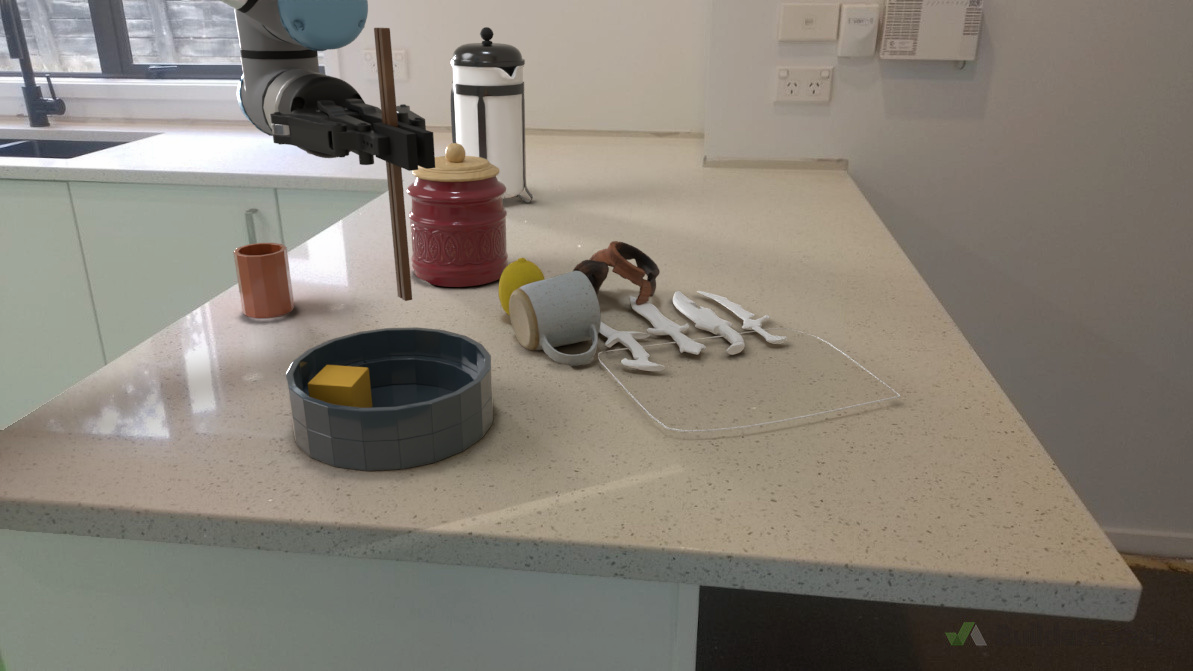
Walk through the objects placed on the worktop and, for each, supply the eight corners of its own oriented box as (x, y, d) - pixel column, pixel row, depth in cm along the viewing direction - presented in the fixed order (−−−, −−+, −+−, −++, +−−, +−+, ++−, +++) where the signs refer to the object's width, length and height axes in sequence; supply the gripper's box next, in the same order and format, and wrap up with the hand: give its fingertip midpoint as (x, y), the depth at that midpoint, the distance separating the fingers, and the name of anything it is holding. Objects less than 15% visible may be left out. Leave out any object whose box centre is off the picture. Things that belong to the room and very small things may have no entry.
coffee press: (542, 192, 161) (541, 26, 149) (521, 213, 146) (517, 30, 135) (456, 188, 163) (447, 24, 152) (426, 207, 149) (415, 27, 137)
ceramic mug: (507, 339, 94) (502, 274, 91) (572, 324, 97) (570, 261, 94) (548, 376, 85) (545, 306, 82) (617, 358, 89) (617, 290, 86)
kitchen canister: (507, 288, 109) (503, 152, 103) (406, 289, 109) (396, 152, 102) (509, 259, 121) (506, 135, 115) (419, 259, 120) (410, 134, 114)
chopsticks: (405, 301, 72) (381, 28, 64) (397, 296, 73) (373, 27, 65) (412, 299, 72) (390, 27, 64) (405, 295, 73) (381, 27, 65)
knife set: (735, 288, 111) (736, 280, 110) (914, 403, 80) (916, 392, 80) (549, 309, 102) (549, 300, 102) (670, 446, 72) (671, 435, 72)
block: (312, 424, 74) (307, 383, 72) (331, 403, 77) (326, 364, 76) (356, 427, 73) (351, 386, 72) (372, 406, 77) (369, 367, 76)
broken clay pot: (601, 287, 112) (632, 237, 109) (646, 332, 108) (680, 281, 104) (540, 284, 103) (573, 229, 100) (587, 333, 98) (622, 277, 95)
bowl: (273, 481, 66) (263, 414, 64) (316, 386, 82) (309, 329, 80) (492, 472, 68) (490, 406, 66) (493, 380, 84) (491, 325, 82)
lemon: (502, 333, 95) (500, 266, 92) (497, 316, 100) (495, 251, 97) (550, 330, 96) (549, 264, 93) (543, 313, 101) (542, 249, 98)
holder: (238, 323, 97) (227, 256, 94) (251, 306, 102) (241, 242, 99) (288, 322, 98) (279, 256, 94) (298, 305, 103) (290, 242, 100)
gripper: (386, 146, 86) (501, 189, 69) (248, 159, 79) (337, 211, 61) (380, 70, 83) (499, 95, 66) (236, 76, 76) (326, 106, 58)
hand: (421, 151), depth 64 cm, fingers closed on chopsticks, 1 cm apart
